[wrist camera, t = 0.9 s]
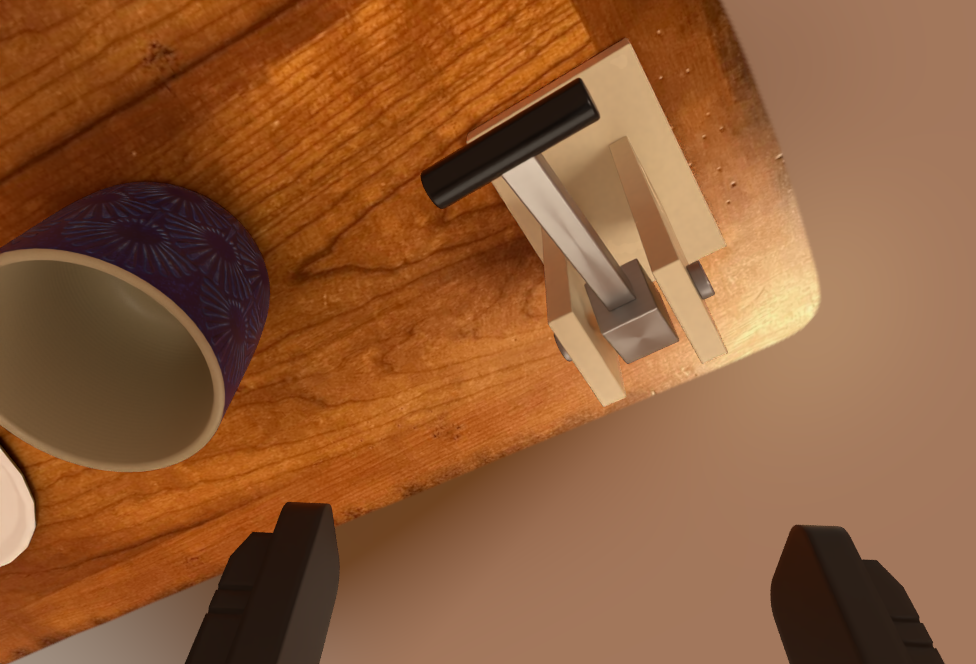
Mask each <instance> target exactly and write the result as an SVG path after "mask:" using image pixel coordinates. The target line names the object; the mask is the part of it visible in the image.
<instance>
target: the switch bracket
mask: <svg viewBox="0 0 976 664" xmlns="http://www.w3.org/2000/svg"><path fill="white" fill-rule="evenodd" d="M576 78H581V79H582V80H583V82H584V83H585V85H586V87H587V89H588V91H589V92H590V94H591V96H592V98H593V100H594V102H595V104H596V106H597V109H598V111H599V113H600V119H599V120H598V121H596V122H595V123H593V124H591V125H589V126H588V127H586V128H584V129H582V130H581V131H579V132H577V133H575V134H574V135H572V136H570V137H568V138H567V139H565V140H563V141H561V142H560V143H558V144H556V145H555V146H553V147H551V148H549V149H548V150H546V151H544V152H542V155H543V156H544V158H545V159H546V161H547V162H548V164H549V165H550V166H551V168H552V169H553V171H554V172H555V174H556V175H557V176H558V178H559V179H560V181H561V182H562V184H563V185H564V187H565V188H566V189H567V191H568V192H569V194H570V195H571V197H572V198H573V200H574V201H575V202H576V204H577V205H578V207H579V208H580V210H581V211H582V212H583V214H584V215H585V217H586V218H587V220H588V221H589V223H590V224H591V225H592V227H593V228H594V230H595V231H596V233H597V234H598V235H599V237H600V238H601V240H602V241H603V243H604V244H605V246H606V247H607V248H608V250H609V251H610V253H611V254H612V256H613V257H614V259H615V260H616V261H617V263H618V264H619V266H621V265H623V264H625V263H627V262H629V261H631V260H633V259H638V261H639V262H640V264H641V265H642V267H643V268H644V270H645V272H646V273H647V275H648V276H649V278H650V279H651V281H652V282H653V281H655V280H656V281H657V283H658V285H659V287H660V289H661V290H662V292H663V294H664V296H665V298H666V299H667V301H668V303H669V305H670V307H671V309H672V310H673V312H674V314H675V316H676V318H677V319H678V321H679V323H680V325H681V327H682V329H683V330H684V332H685V334H686V336H687V338H688V339H689V341H690V343H691V345H692V347H693V349H694V350H695V352H696V354H697V356H698V358H699V359H700V361H701V363H702V364H704V363H706V362H709V361H711V360H713V359H716V358H718V357H720V356H723V355H725V354H727V353H728V351H727V349H726V347H725V344H724V342H723V340H722V338H721V335H720V333H719V331H718V329H717V326H716V324H715V322H714V320H713V317H712V315H711V313H710V311H709V308H708V306H707V304H706V302H705V299H706V298H709V297H711V296H713V295H714V294H715V292H714V290H713V288H712V286H711V284H710V282H709V280H708V278H707V276H706V274H705V272H704V270H703V268H702V266H701V264H700V262H699V261H697V260H699V259H701V258H703V257H705V256H707V255H709V254H711V253H713V252H715V251H718V250H720V249H722V248H724V247H726V245H727V244H726V242H725V240H724V238H723V236H722V234H721V232H720V230H719V228H718V225H717V223H716V221H715V219H714V217H713V215H712V213H711V211H710V209H709V207H708V204H707V202H706V200H705V198H704V196H703V194H702V192H701V190H700V188H699V186H698V183H697V181H696V179H695V177H694V175H693V173H692V171H691V169H690V167H689V165H688V162H687V160H686V158H685V156H684V154H683V152H682V150H681V148H680V146H679V144H678V141H677V139H676V137H675V135H674V133H673V131H672V129H671V127H670V125H669V123H668V120H667V118H666V116H665V114H664V112H663V110H662V108H661V106H660V104H659V102H658V99H657V97H656V95H655V93H654V91H653V89H652V87H651V85H650V83H649V81H648V78H647V76H646V74H645V72H644V70H643V68H642V66H641V64H640V62H639V60H638V57H637V55H636V53H635V51H634V49H633V47H632V45H631V43H630V42H629V40H628V39H627V38H624V39H623V40H621V41H619V42H618V43H616V44H614V45H613V46H611V47H609V48H608V49H606V50H605V51H603V52H601V53H600V54H598V55H596V56H595V57H593V58H591V59H590V60H588V61H586V62H585V63H583V64H581V65H580V66H578V67H577V68H575V69H573V70H572V71H570V72H568V73H567V74H565V75H563V76H562V77H560V78H558V79H557V80H555V81H553V82H552V83H550V84H549V85H547V86H545V87H544V88H542V89H540V90H539V91H537V92H535V93H534V94H532V95H530V96H529V97H527V98H525V99H524V100H522V101H521V102H519V103H517V104H516V105H514V106H512V107H511V108H509V109H507V110H506V111H504V112H502V113H501V114H499V115H498V116H496V117H494V118H493V119H491V120H489V121H488V122H486V123H484V124H483V125H481V126H479V127H478V128H476V129H474V130H473V131H471V132H470V133H468V135H467V141H466V143H467V144H468V143H470V142H471V141H473V140H475V139H476V138H478V137H480V136H481V135H483V134H485V133H486V132H488V131H490V130H491V129H493V128H495V127H496V126H498V125H500V124H501V123H503V122H505V121H506V120H508V119H510V118H511V117H513V116H515V115H516V114H518V113H520V112H521V111H523V110H525V109H526V108H528V107H530V106H531V105H533V104H535V103H536V102H538V101H540V100H541V99H543V98H545V97H546V96H548V95H550V94H551V93H553V92H555V91H556V90H558V89H560V88H561V87H563V86H565V85H566V84H568V83H569V82H571V81H573V80H574V79H576ZM492 184H493V185H494V187H495V189H496V190H497V192H498V193H499V195H500V196H501V198H502V200H503V201H504V203H505V204H506V206H507V207H508V209H509V211H510V212H511V214H512V215H513V217H514V218H515V220H516V222H517V223H518V225H519V226H520V228H521V229H522V231H523V233H524V234H525V236H526V237H527V239H528V240H529V242H530V244H531V245H532V247H533V248H534V250H535V252H536V253H537V255H538V256H539V258H540V259H541V261H542V263H543V264H544V273H545V288H546V303H547V317H548V325H549V326H550V328H551V329H552V331H553V332H554V337H555V341H556V343H557V346H558V348H559V350H560V352H561V353H562V355H563V356H564V358H565V359H566V360H567V361H573V362H574V364H575V365H576V367H577V368H578V370H579V371H580V373H581V374H582V376H583V377H584V379H585V380H586V382H587V383H588V385H589V386H590V388H591V389H592V391H593V392H594V394H595V395H596V397H597V398H598V400H599V401H600V403H601V404H602V406H603V407H605V406H607V405H609V404H612V403H614V402H616V401H619V400H621V399H623V398H625V397H626V392H625V387H624V382H623V378H622V373H621V368H620V363H619V359H618V354H617V352H616V350H615V349H614V348H613V347H612V346H611V345H610V343H609V342H608V341H607V340H606V339H605V338H604V336H603V335H602V334H601V332H600V329H599V326H598V323H597V321H596V318H595V315H594V312H593V309H592V306H591V304H590V301H589V298H588V295H587V292H586V289H585V287H584V284H585V283H586V282H585V281H584V279H583V278H582V277H581V276H580V274H579V273H578V272H577V271H576V269H575V268H574V267H573V266H572V264H571V263H570V262H569V261H568V259H567V258H566V257H565V256H564V254H563V253H562V252H561V251H560V249H559V248H558V247H557V245H556V244H555V243H554V242H553V240H552V239H551V238H550V237H549V235H548V234H547V233H546V232H545V230H544V229H543V228H542V227H541V225H540V224H539V223H538V222H537V220H536V219H535V218H534V217H533V215H532V214H531V213H530V212H529V210H528V209H527V208H526V207H525V205H524V204H523V203H522V202H521V200H520V199H519V198H518V197H517V195H516V194H515V193H514V191H513V190H512V189H511V188H510V186H509V185H508V184H507V183H506V181H505V180H504V179H503V178H502V176H501V177H499V178H497V179H495V180H494V181H492Z"/></svg>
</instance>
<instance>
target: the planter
mask: <svg viewBox="0 0 976 664" xmlns="http://www.w3.org/2000/svg"><path fill="white" fill-rule="evenodd" d="M269 300H270V284H269V277H268V272H267V269H266V266H265V262H264V260H263V257H262V255H261V252H260V250H259V249H258V247H257V245H256V243H255V242H254V240H253V239H252V237H251V236H250V234H249V233H248V232H247V230H246V229H245V228H244V227H243V226H242V225H241V224H240V223H239V221H238V220H237V219H236V218H234V217H233V216H232V215H231V214H230V213H229V212H228V211H226V210H225V209H224V208H222V207H221V206H220V205H218V204H217V203H215V202H213V201H212V200H210V199H208V198H206V197H204V196H203V195H201V194H198V193H196V192H194V191H191V190H189V189H186V188H183V187H179V186H175V185H171V184H165V183H158V182H131V183H126V184H120V185H115V186H112V187H109V188H105V189H102V190H100V191H97V192H95V193H93V194H91V195H88V196H86V197H84V198H82V199H80V200H78V201H76V202H74V203H72V204H70V205H68V206H67V207H65V208H63V209H61V210H60V211H58V212H56V213H55V214H53V215H51V216H50V217H48V218H47V219H45V220H43V221H42V222H40V223H39V224H37V225H36V226H34V227H32V228H31V229H29V230H28V231H26V232H25V233H23V234H21V235H20V236H18V237H17V238H15V239H14V240H12V241H11V242H9V243H7V244H6V245H4V246H3V247H1V248H0V425H1V426H3V427H4V428H5V429H7V430H8V431H10V432H11V433H12V434H14V435H15V436H17V437H18V438H20V439H22V440H23V441H25V442H26V443H28V444H30V445H32V446H34V447H35V448H37V449H39V450H41V451H44V452H46V453H48V454H50V455H52V456H55V457H57V458H60V459H62V460H65V461H68V462H71V463H74V464H78V465H82V466H86V467H89V468H95V469H100V470H107V471H116V472H142V471H149V470H156V469H160V468H165V467H168V466H171V465H174V464H177V463H179V462H181V461H183V460H185V459H187V458H189V457H191V456H192V455H194V454H195V453H197V452H198V451H199V450H200V449H202V448H203V447H204V446H205V445H206V444H207V443H208V442H209V441H210V439H211V438H212V437H213V435H214V434H215V432H216V431H217V429H218V427H219V425H220V423H221V421H222V418H223V416H224V414H225V412H226V410H227V408H228V406H229V404H230V402H231V400H232V398H233V396H234V394H235V392H236V390H237V388H238V386H239V384H240V382H241V380H242V378H243V376H244V374H245V371H246V369H247V367H248V365H249V363H250V361H251V359H252V356H253V354H254V352H255V350H256V347H257V345H258V342H259V340H260V337H261V334H262V331H263V328H264V325H265V322H266V318H267V314H268V309H269Z"/></svg>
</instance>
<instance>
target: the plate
mask: <svg viewBox="0 0 976 664" xmlns="http://www.w3.org/2000/svg"><path fill="white" fill-rule="evenodd" d="M36 525H37V524H36V509H35V500H34V498H33V495H32V493H31V491H30V488H29V486H28V484H27V482H26V479H25V477H24V475H23V473H22V472H21V470H20V469H19V468H18V466H17V465H16V464H15V463H14V461H13V460H12V459H11V458H10V456H9V455H8V454H7V452H6V451H5V450H4V449H3V447H2V446H1V445H0V567H1V566H3V565H6V564H8V563H11V562H12V561H13V560H14V559H15V558H16V557H17V556H18V555H20V554H21V553H22V552H23V551H24V550H25V549H26V548H27V547H28V545H29V543H30V540H31V538H32V535H33V533H34V530H35V528H36Z"/></svg>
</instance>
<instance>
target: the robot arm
mask: <svg viewBox="0 0 976 664" xmlns="http://www.w3.org/2000/svg"><path fill="white" fill-rule="evenodd" d="M339 568H340V566H339V555H338V548H337V542H336V534H335V527H334V520H333V513H332V508H331V505H330V504H324V503H300V502H287V503H286V504H285V505H284V506H283V508H282V511H281V513H280V516H279V518H278V521H277V524H276V526H275V529H274V532H273V533H263V532H252V533H251V534H250V535H249V537H248V538H247V539H246V540H245V541H244V542H243V543H242V544H241V545H240V546H239V547H238V548H237V549H236V550H235V552H234V553H233V554H232V555H231V556H230V558H229V560H228V563H227V565H226V567H225V570H224V572H223V575H222V577H221V580H220V582H219V584H218V590H216V591H215V594H214V596H213V598H212V600H211V603H210V605H209V611H208V613H207V614H206V615H205V617H204V619H203V622H202V624H201V627H200V629H199V631H198V634H197V636H196V638H195V641H194V643H193V645H192V648H191V650H190V652H189V655H188V657H187V660H186V662H185V664H319V662H320V658H321V654H322V651H323V646H324V643H325V639H326V635H327V631H328V627H329V622H330V619H331V615H332V611H333V607H334V603H335V599H336V594H337V590H338V582H339ZM771 607H772V612H773V616H774V619H775V622H776V625H777V628H778V631H779V634H780V637H781V640H782V642H783V646H784V649H785V651H786V654H787V657H788V660H789V663H790V664H944V662H943V660H942V658H941V656H940V654H939V653H938V651H937V649H936V648H934V647H933V641H932V639H931V638H930V636H929V634H928V632H927V630H926V628H925V626H924V625H923V623H920V621H919V615H918V613H917V612H916V610H915V608H914V606H913V604H912V602H911V600H910V599H909V597H908V595H907V593H906V591H905V589H904V587H903V586H902V585H901V584H900V583H899V582H898V581H897V580H896V579H895V578H894V577H893V576H892V575H891V574H890V573H889V572H888V571H887V570H886V569H885V568H884V567H883V566H882V565H881V564H880V563H879V562H878V561H877V560H862V559H861V557H860V555H859V553H858V552H857V549H856V548H855V545H854V543H853V541H852V539H851V537H850V536H849V534H848V533H847V532H846V530H845V529H844V528H842V527H838V526H816V525H815V526H814V525H795V526H794V527H792V529H791V531H790V533H789V536H788V538H787V541H786V544H785V546H784V549H783V552H782V555H781V557H780V560H779V563H778V566H777V568H776V571H775V573H774V576H773V579H772V583H771Z"/></svg>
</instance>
